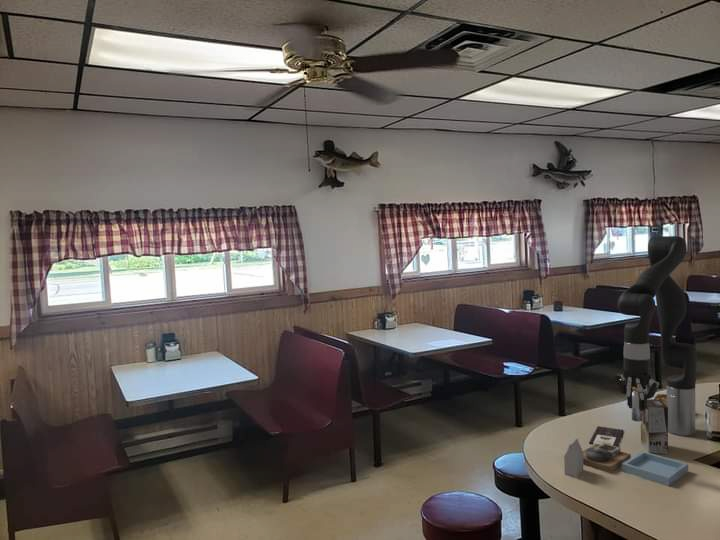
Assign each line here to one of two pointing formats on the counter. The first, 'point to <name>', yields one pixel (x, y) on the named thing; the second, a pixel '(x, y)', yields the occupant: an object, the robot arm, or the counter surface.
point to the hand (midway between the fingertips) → (637, 408)
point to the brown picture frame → (606, 436)
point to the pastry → (662, 398)
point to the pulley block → (604, 457)
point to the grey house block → (573, 459)
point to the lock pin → (636, 405)
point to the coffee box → (655, 427)
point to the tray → (655, 468)
